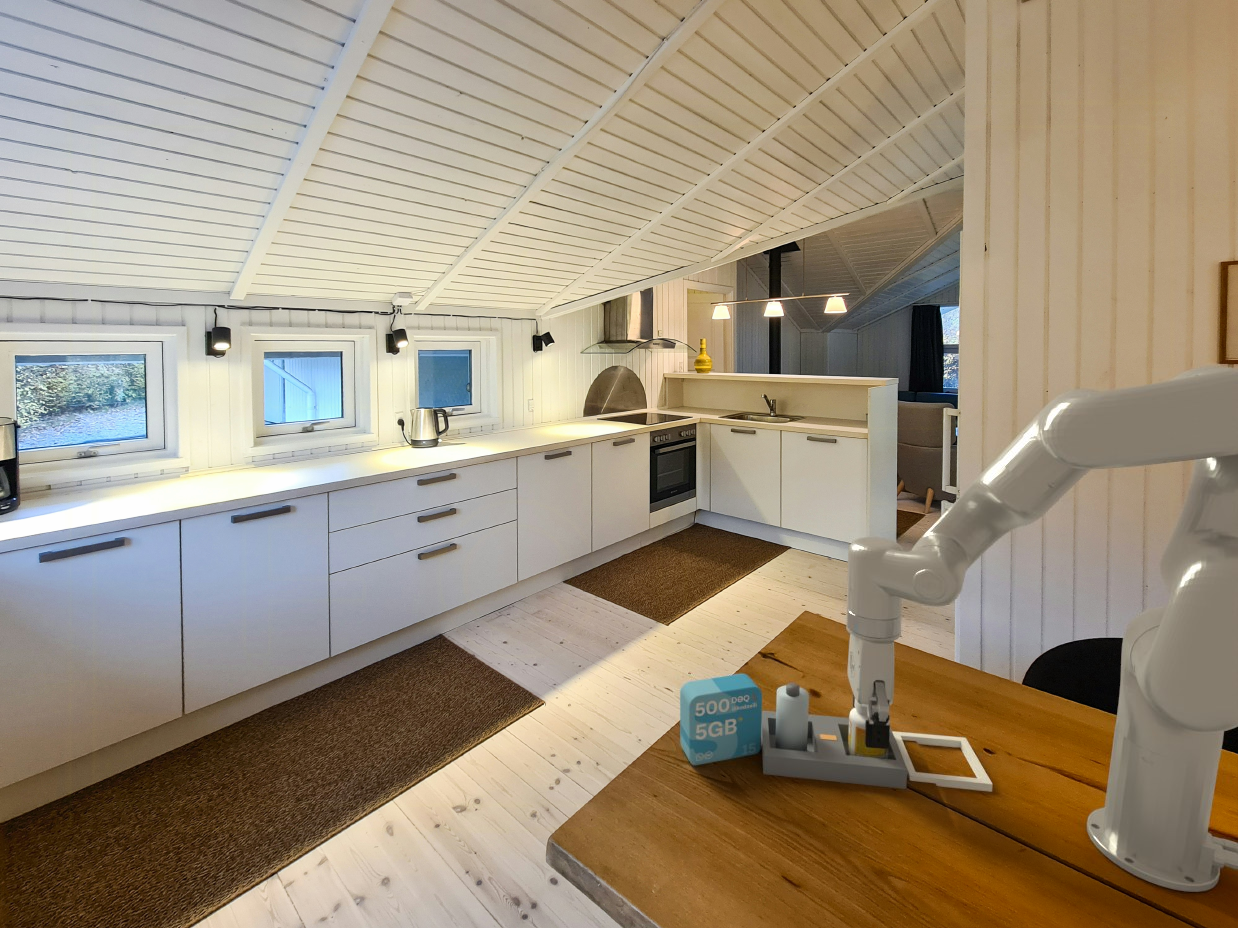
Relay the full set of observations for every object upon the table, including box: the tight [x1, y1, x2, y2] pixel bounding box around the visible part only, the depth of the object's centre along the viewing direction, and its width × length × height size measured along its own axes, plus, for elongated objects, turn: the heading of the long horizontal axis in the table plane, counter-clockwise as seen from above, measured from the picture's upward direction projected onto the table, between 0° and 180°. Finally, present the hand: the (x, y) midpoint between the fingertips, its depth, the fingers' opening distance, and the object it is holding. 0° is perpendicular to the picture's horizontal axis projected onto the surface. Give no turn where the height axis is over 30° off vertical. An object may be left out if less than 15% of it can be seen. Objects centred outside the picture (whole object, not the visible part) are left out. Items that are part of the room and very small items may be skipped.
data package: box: [679, 673, 763, 766], centre depth 97 cm, size 12×4×12 cm, turn 104°
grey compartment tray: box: [761, 710, 908, 790], centre depth 96 cm, size 20×12×4 cm, turn 79°
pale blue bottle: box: [775, 682, 810, 751], centre depth 97 cm, size 5×5×11 cm
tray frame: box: [892, 730, 993, 793], centre depth 95 cm, size 11×11×1 cm
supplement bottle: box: [848, 697, 886, 759], centre depth 95 cm, size 5×5×10 cm
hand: (869, 727), depth 94 cm, fingers open, 9 cm apart
